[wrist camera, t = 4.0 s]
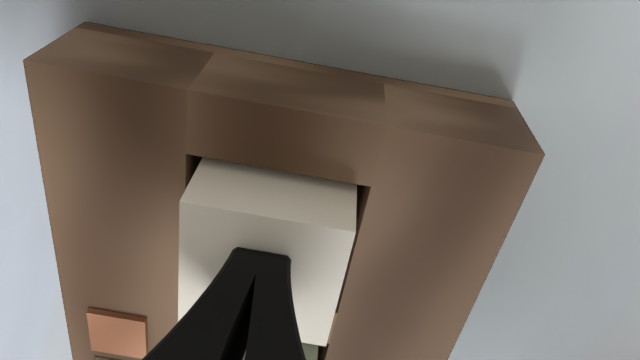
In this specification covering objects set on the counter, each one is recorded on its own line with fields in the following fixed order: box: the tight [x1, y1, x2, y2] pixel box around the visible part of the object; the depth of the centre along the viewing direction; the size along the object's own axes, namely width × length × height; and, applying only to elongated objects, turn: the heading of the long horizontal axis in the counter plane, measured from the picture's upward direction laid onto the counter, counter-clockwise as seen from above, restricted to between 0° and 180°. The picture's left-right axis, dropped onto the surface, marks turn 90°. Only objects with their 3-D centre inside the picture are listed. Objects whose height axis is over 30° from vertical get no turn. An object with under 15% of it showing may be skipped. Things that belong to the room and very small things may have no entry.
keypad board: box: [23, 22, 545, 360], centre depth 18 cm, size 12×20×3 cm, turn 171°
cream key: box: [178, 157, 357, 346], centre depth 14 cm, size 4×4×2 cm
